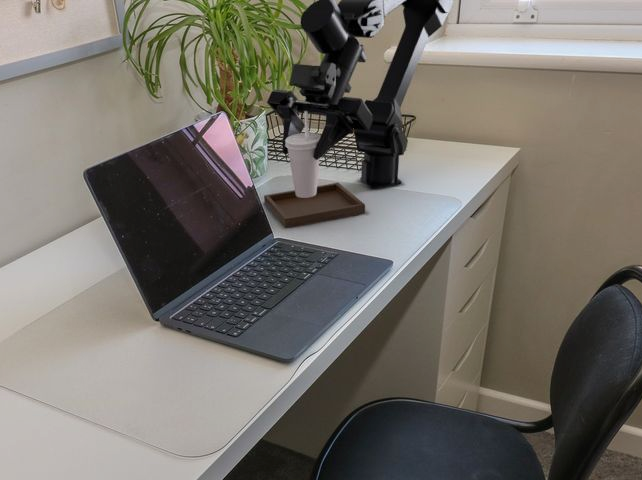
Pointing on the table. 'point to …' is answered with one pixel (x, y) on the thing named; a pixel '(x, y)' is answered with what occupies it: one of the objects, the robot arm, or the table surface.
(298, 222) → the tray
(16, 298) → the table surface
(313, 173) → the smoothie
